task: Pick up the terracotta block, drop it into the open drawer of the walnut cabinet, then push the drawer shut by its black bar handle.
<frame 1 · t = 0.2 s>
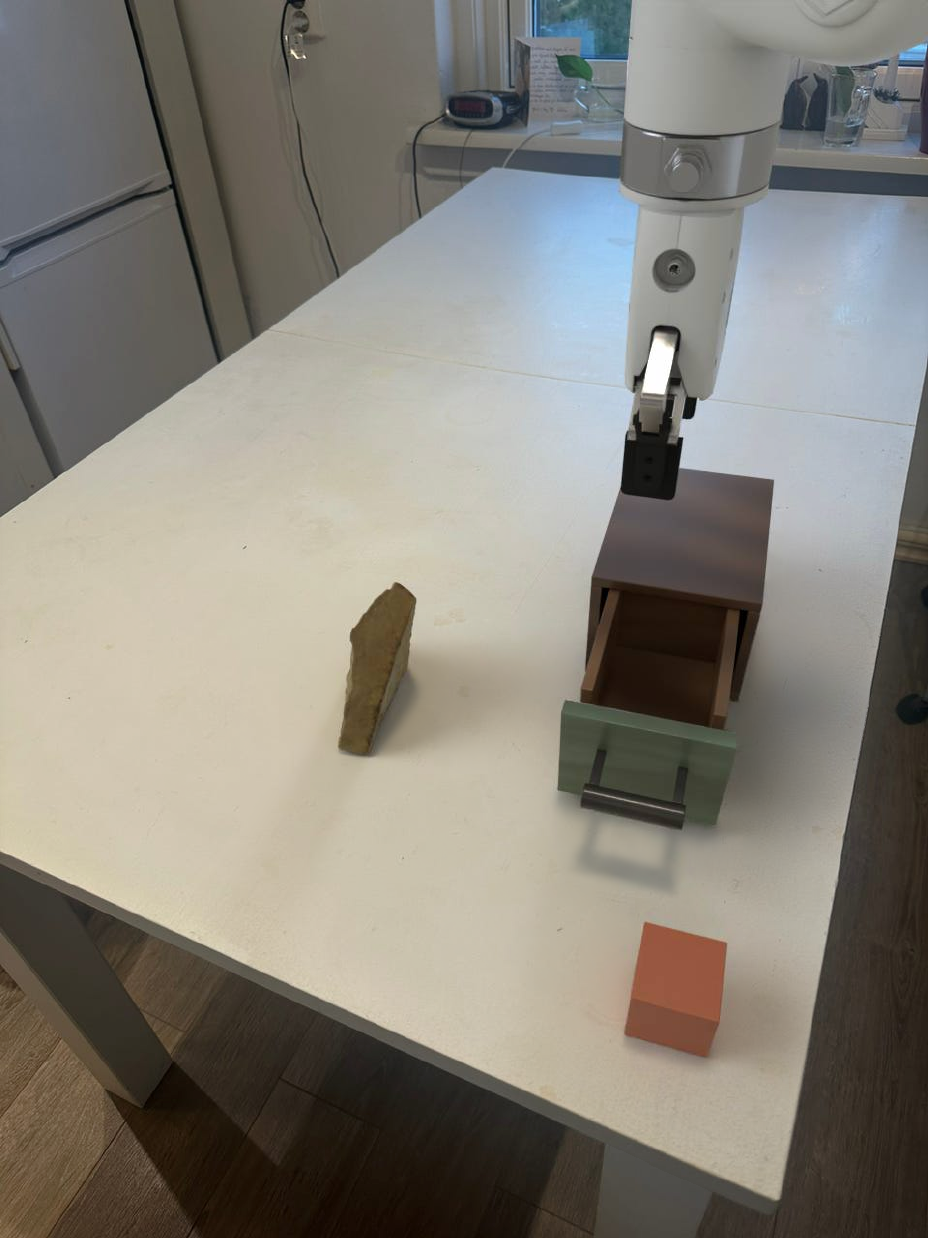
hand: (659, 452, 56), 19 cm above the table, tool pointing down, fingers open, 9 cm apart
cabinet: (673, 619, 72), on the table
rock: (369, 702, 67), on the table
drawer: (652, 711, 58), point 5 cm above the table, slide at 11.0 cm
block: (670, 1007, 48), on the table
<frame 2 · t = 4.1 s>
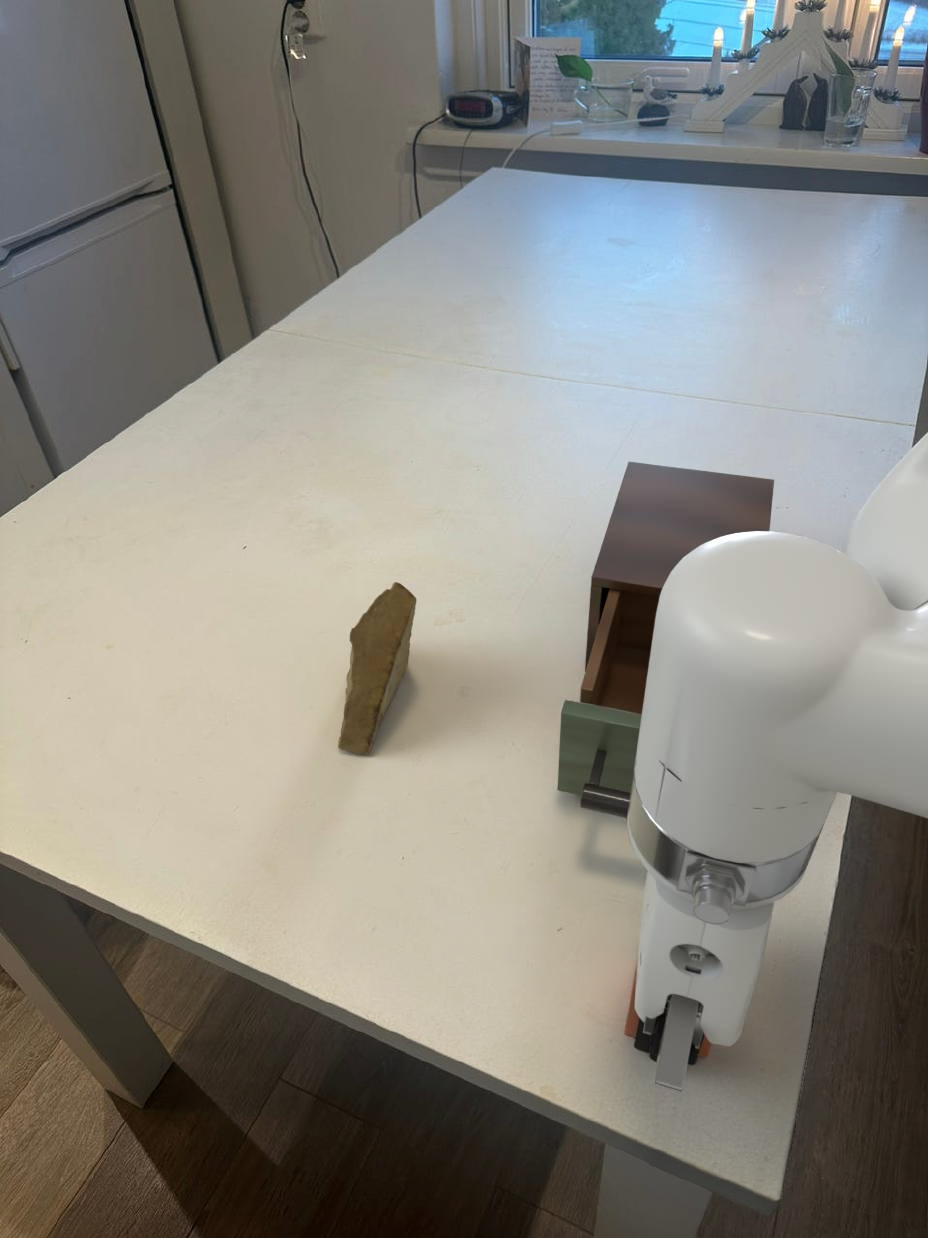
hand: (671, 1004, 48), 0 cm above the table, tool pointing down, fingers closed on block, 4 cm apart
block: (670, 1007, 48), on the table, touching gripper
everything else where it was.
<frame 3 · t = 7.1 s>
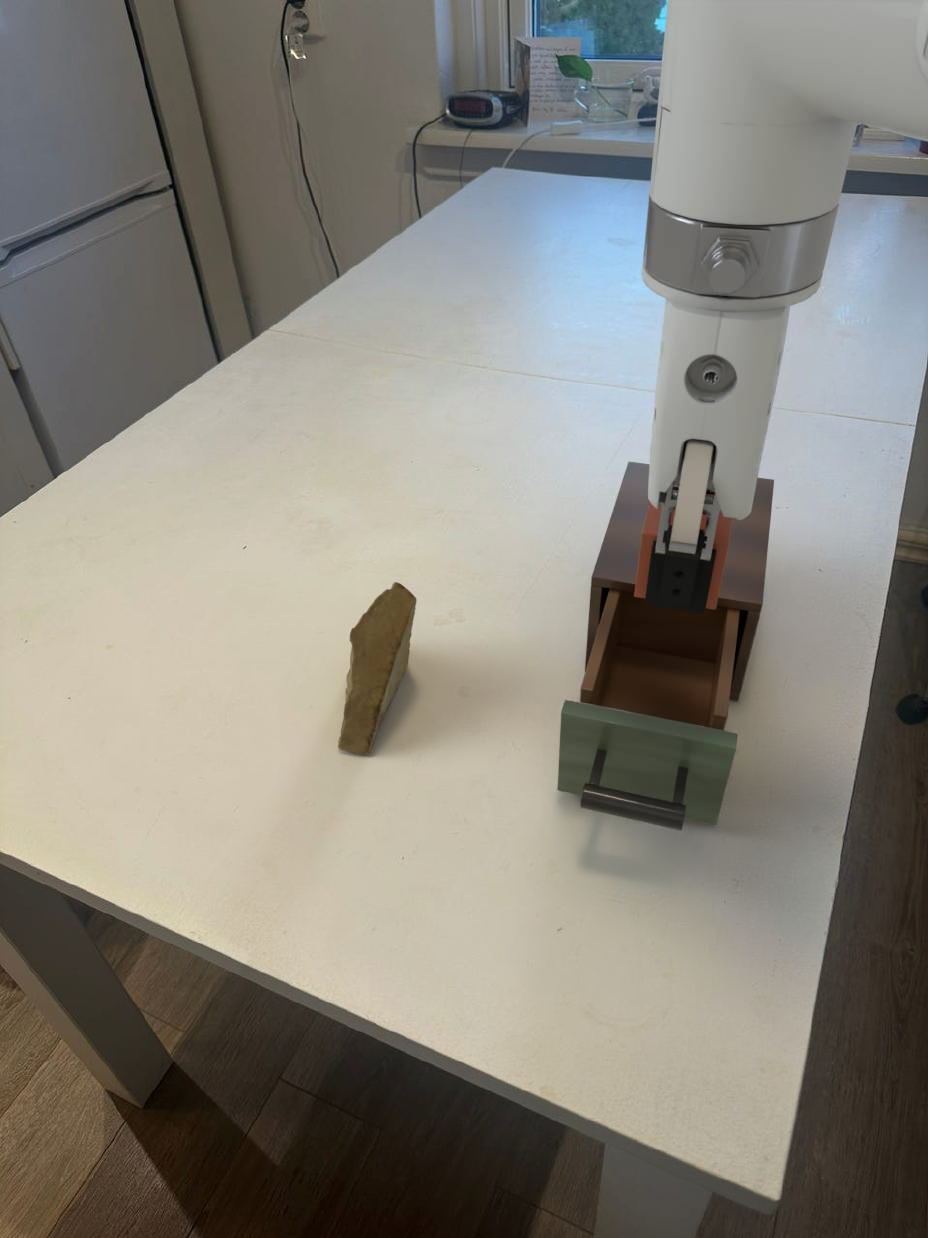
hand: (680, 573, 49), 17 cm above the table, tool pointing down, fingers closed on block, 4 cm apart
block: (679, 578, 49), point 17 cm above the table, touching gripper
everything else where it was.
when the fingers open (8 cm above the table, at t = 10.1 s): block drops 5 cm, resting on drawer.
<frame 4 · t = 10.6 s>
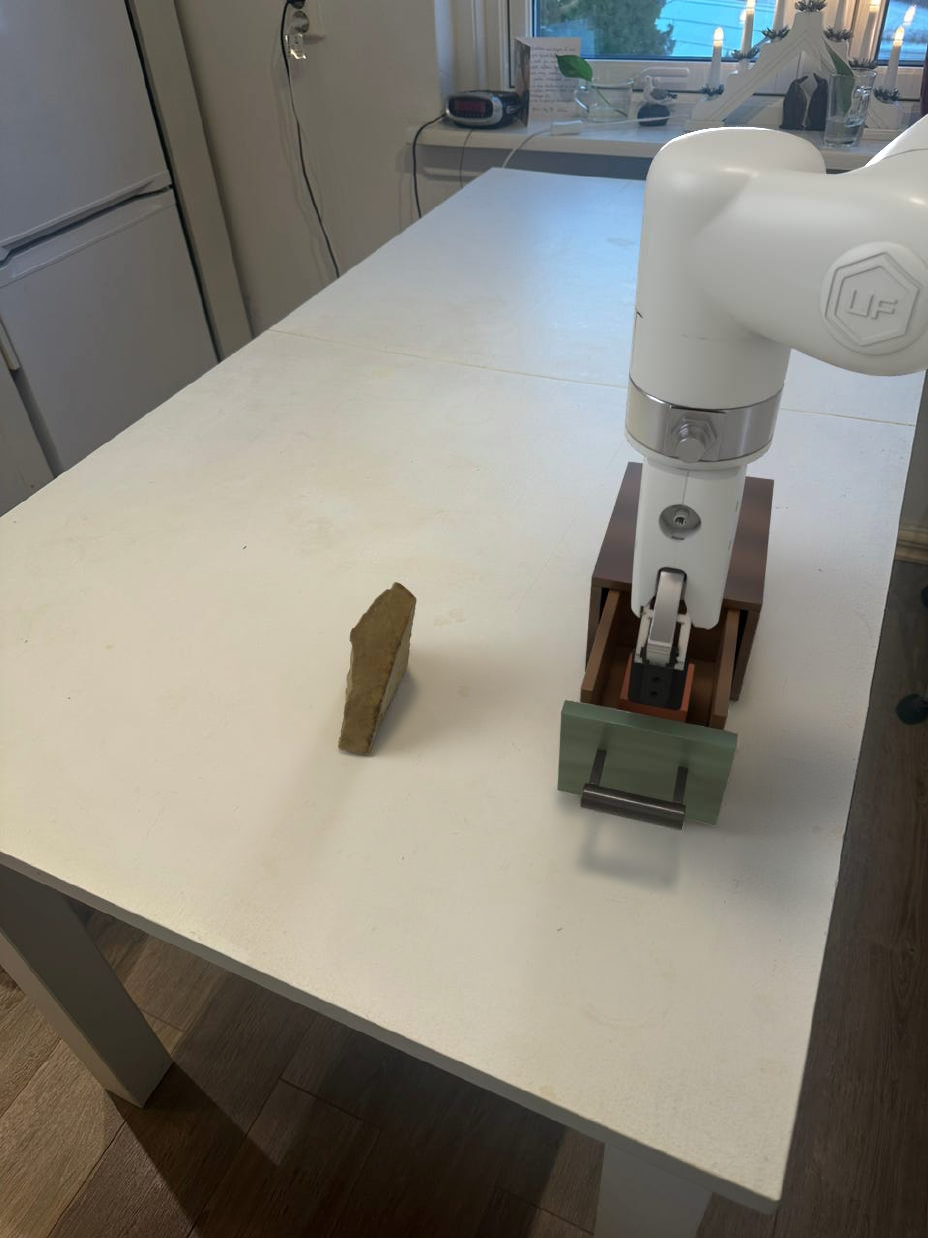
hand: (665, 649, 56), 9 cm above the table, tool pointing down, fingers open, 9 cm apart
drawer: (652, 711, 58), point 5 cm above the table, slide at 11.0 cm, touching block
block: (651, 724, 61), point 2 cm above the table, touching drawer
everything else where it was.
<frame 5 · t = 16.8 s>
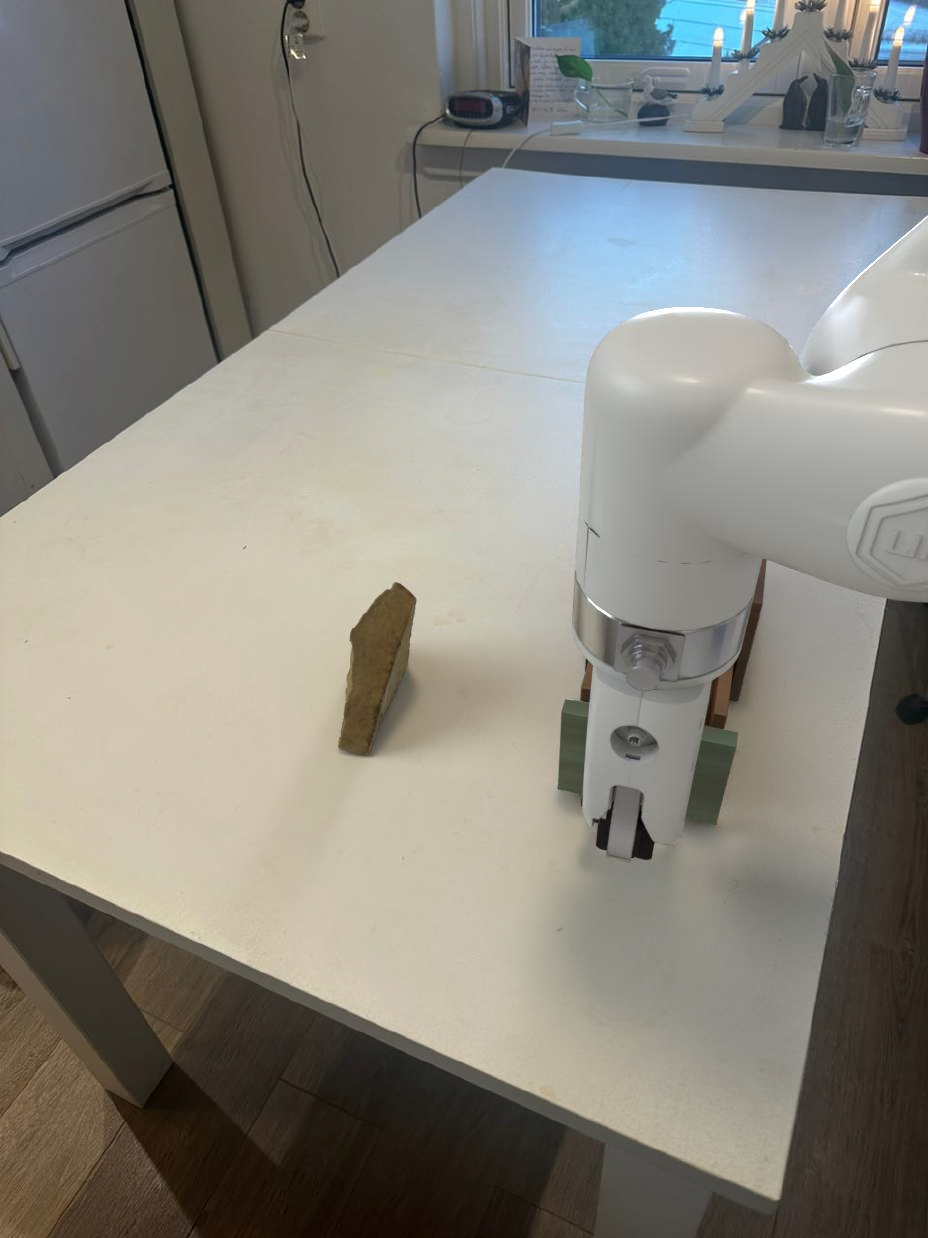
hand: (625, 843, 50), 5 cm above the table, tool pointing down, fingers closed
drawer: (652, 710, 58), point 5 cm above the table, slide at 10.9 cm, touching block, gripper
everything else where it was.
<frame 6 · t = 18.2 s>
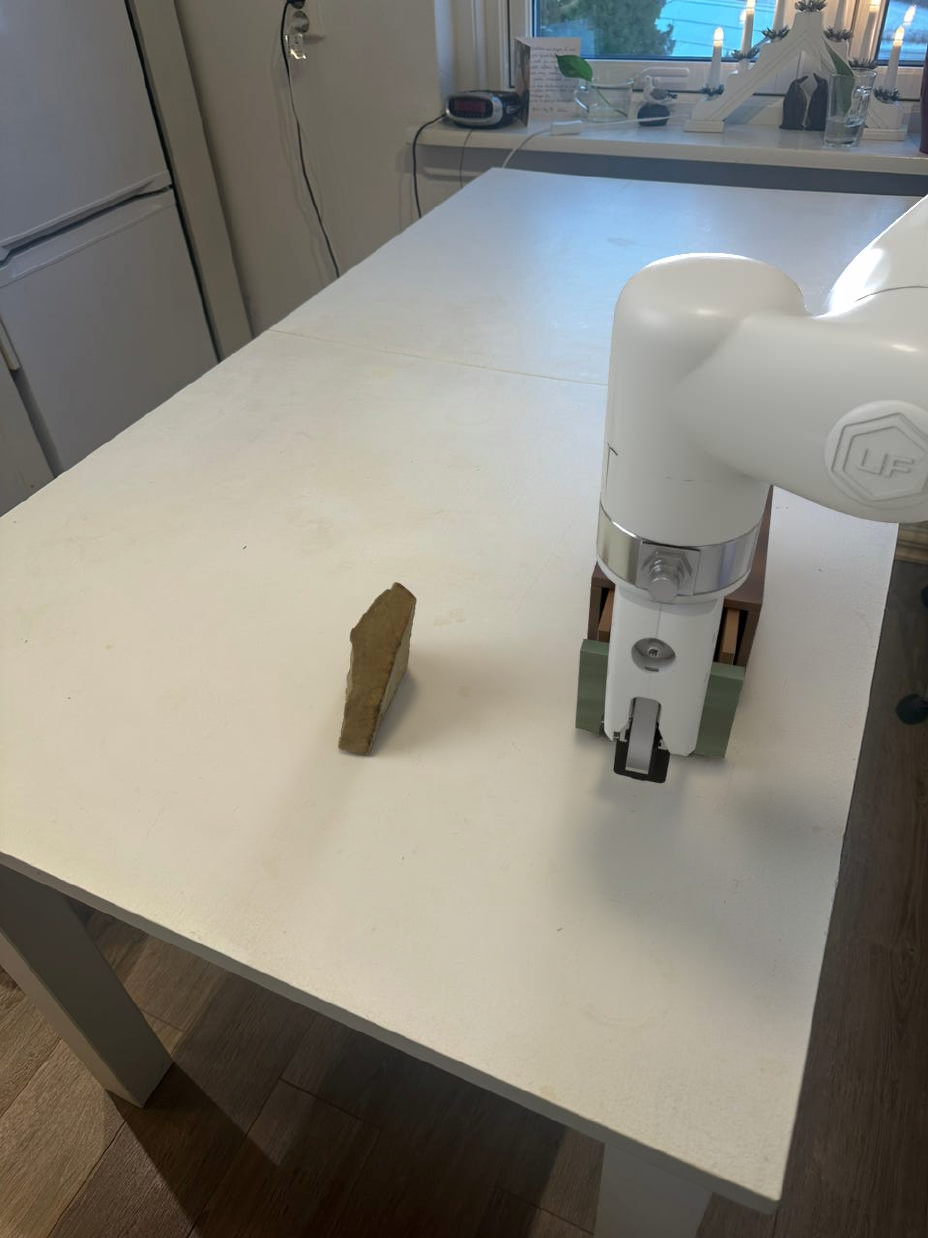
hand: (640, 768, 54), 5 cm above the table, tool pointing down, fingers closed
drawer: (664, 654, 62), point 5 cm above the table, slide at 5.3 cm, touching block, gripper
block: (662, 668, 65), point 2 cm above the table, touching drawer
everything else where it was.
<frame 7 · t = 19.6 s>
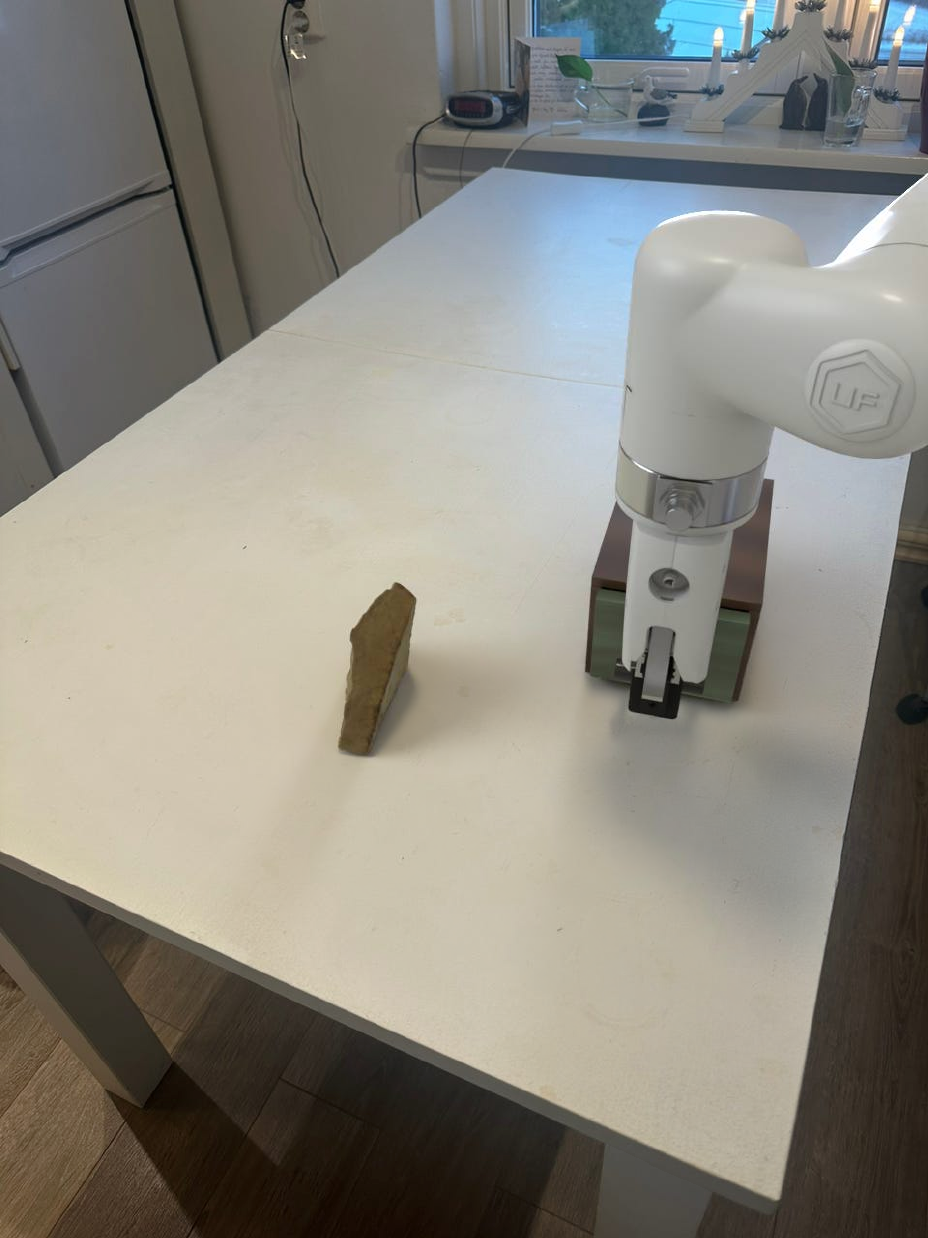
hand: (653, 706, 58), 5 cm above the table, tool pointing down, fingers closed
drawer: (674, 606, 66), point 5 cm above the table, slide at 0.0 cm, touching block, cabinet, gripper
block: (672, 621, 69), point 2 cm above the table, touching drawer
everything else where it was.
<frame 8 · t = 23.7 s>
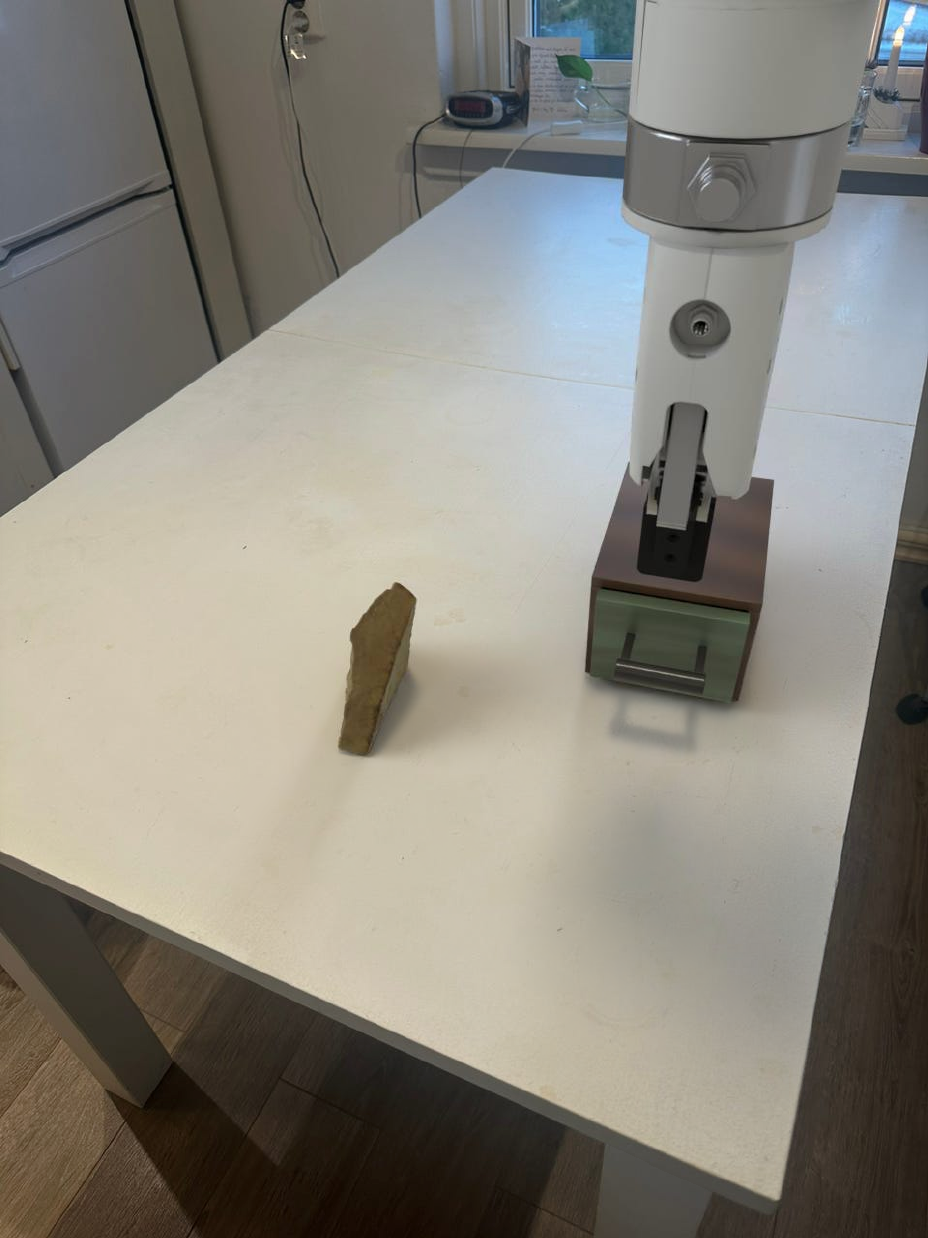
hand: (670, 567, 44), 21 cm above the table, tool pointing down, fingers closed
drawer: (674, 606, 66), point 5 cm above the table, slide at 0.0 cm, touching block, cabinet
everything else where it was.
at the end: block inside the target area in the cabinet (2.5 cm from its centre), point 2.0 cm above the cabinet's base; drawer slide at 0.0 cm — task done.
